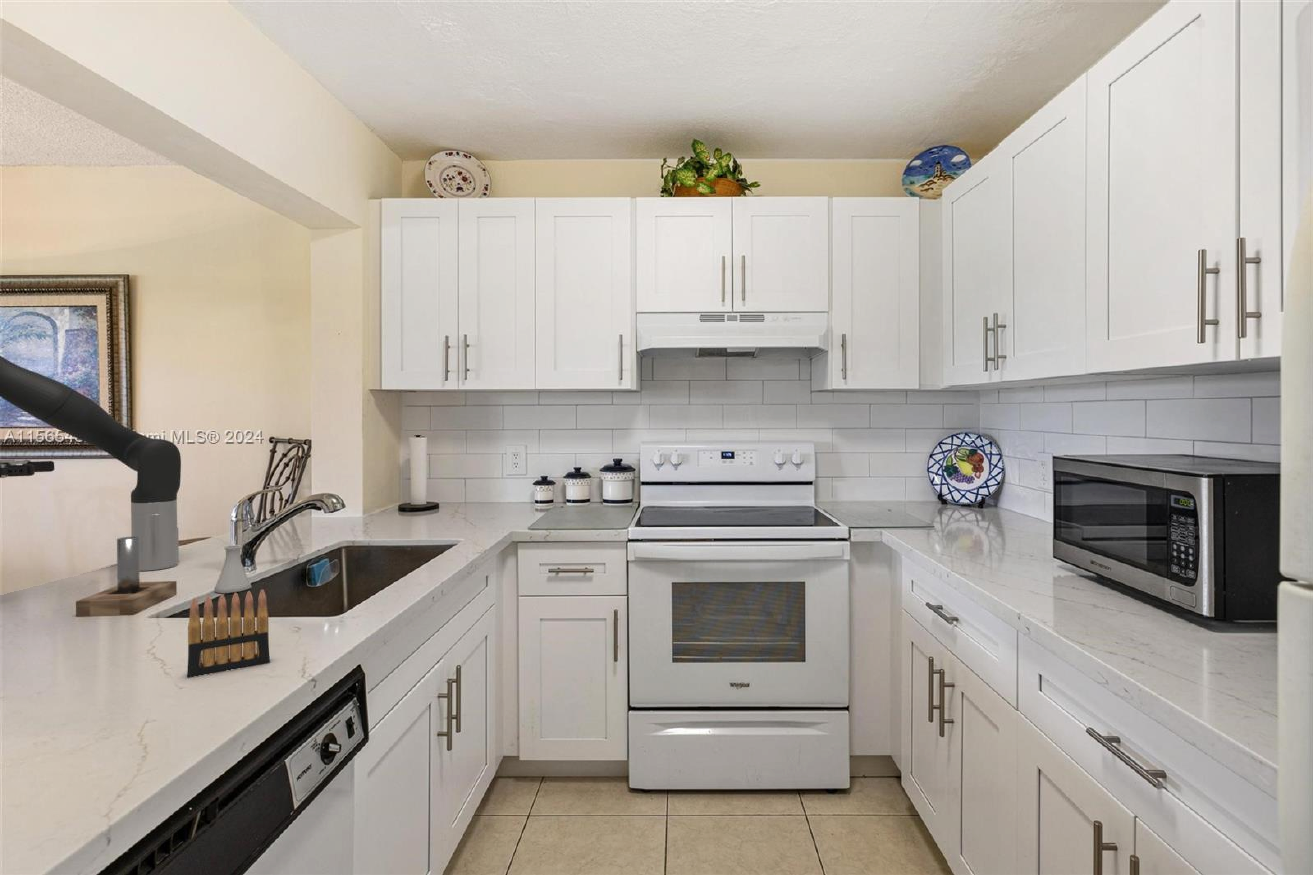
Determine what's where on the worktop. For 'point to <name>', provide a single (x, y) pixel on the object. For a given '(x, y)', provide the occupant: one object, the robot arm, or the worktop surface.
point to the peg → (128, 565)
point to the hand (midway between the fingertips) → (43, 468)
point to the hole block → (125, 600)
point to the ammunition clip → (227, 636)
